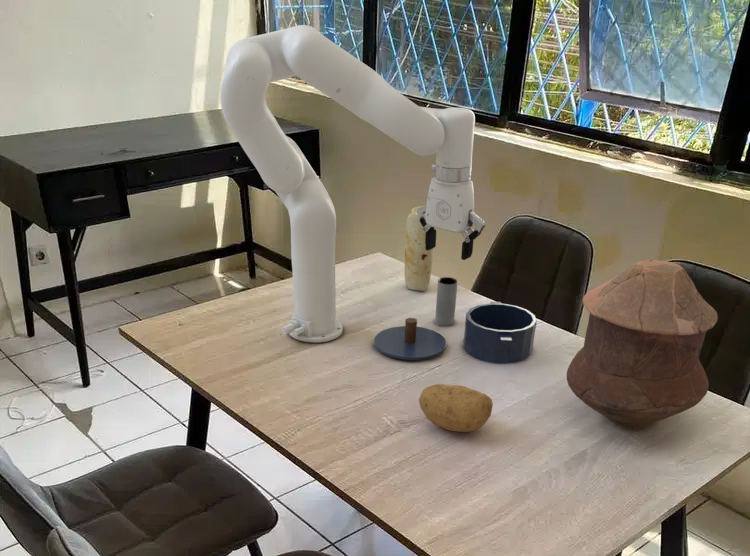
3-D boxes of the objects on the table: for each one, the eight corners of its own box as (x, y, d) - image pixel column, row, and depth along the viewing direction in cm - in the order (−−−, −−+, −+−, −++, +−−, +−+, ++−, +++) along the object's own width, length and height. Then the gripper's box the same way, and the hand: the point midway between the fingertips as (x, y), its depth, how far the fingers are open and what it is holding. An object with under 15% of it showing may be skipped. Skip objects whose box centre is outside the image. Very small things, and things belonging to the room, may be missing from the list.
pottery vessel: (628, 467, 137) (670, 306, 119) (532, 404, 154) (556, 256, 136) (723, 428, 148) (774, 276, 130) (623, 374, 166) (657, 233, 148)
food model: (436, 292, 200) (442, 213, 188) (412, 295, 198) (416, 215, 186) (421, 278, 208) (425, 202, 196) (398, 281, 206) (401, 204, 194)
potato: (428, 407, 153) (430, 370, 148) (496, 423, 148) (501, 386, 143) (408, 430, 146) (410, 392, 141) (479, 448, 141) (484, 410, 136)
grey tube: (456, 320, 186) (459, 278, 180) (451, 327, 183) (454, 285, 177) (437, 317, 188) (440, 275, 181) (432, 324, 184) (435, 282, 178)
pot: (524, 329, 183) (528, 299, 178) (537, 370, 166) (543, 338, 162) (460, 328, 183) (463, 297, 178) (467, 368, 166) (470, 336, 162)
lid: (443, 331, 181) (445, 306, 177) (448, 363, 168) (450, 337, 164) (374, 329, 181) (374, 304, 177) (373, 361, 168) (373, 335, 164)
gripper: (409, 170, 166) (407, 249, 176) (478, 184, 157) (471, 266, 167) (429, 163, 170) (426, 241, 181) (497, 176, 162) (489, 257, 172)
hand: (448, 253), depth 174 cm, fingers open, 9 cm apart
